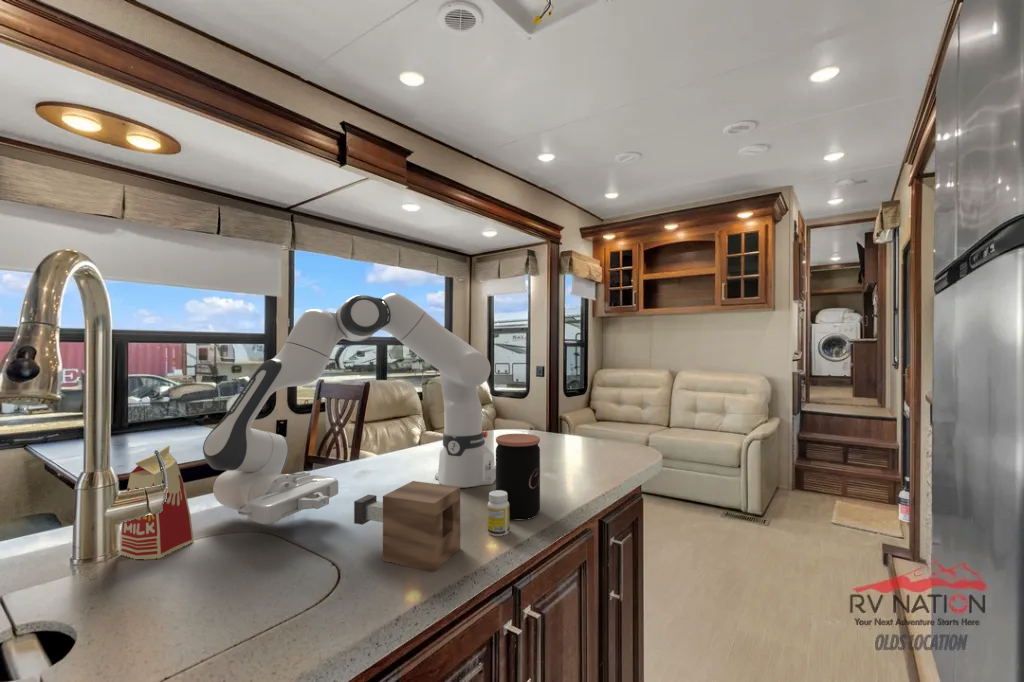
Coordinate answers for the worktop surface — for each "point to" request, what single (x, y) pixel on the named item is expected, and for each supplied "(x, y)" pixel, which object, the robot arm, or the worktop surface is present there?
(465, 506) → the worktop surface
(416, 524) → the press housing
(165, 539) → the milk carton
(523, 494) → the coffee jar
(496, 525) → the supplement bottle
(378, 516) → the plunger
